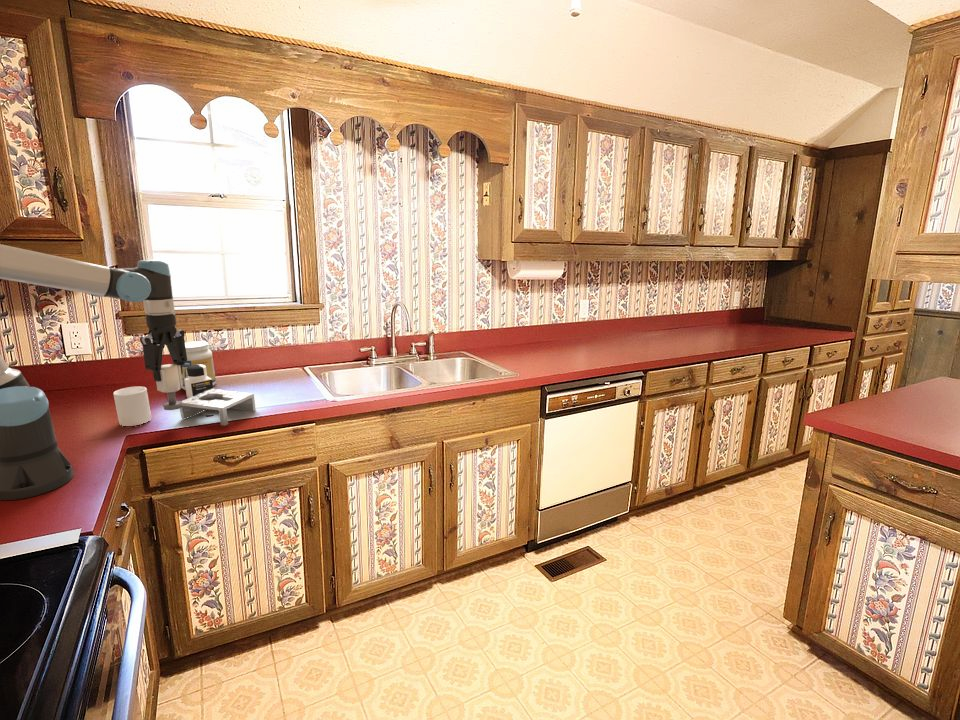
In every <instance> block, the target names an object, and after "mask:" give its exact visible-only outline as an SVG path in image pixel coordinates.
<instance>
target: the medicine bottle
mask: <svg viewBox="0 0 960 720" xmlns="http://www.w3.org/2000/svg"><path fill="white" fill-rule="evenodd" d="M187 374H188V378H185V379H184V382H185V388H186V390H185V393H186V397H187V399H188V398H190V397H193V396H195V395H198V394H200V393H203V392H206V391H208V390H211V389H214V386H213V382H212V379H211V378H209V377H208V376H207V371H206V366H205V365H202V364H196V365H191V366H189V367H188V368H187Z"/></svg>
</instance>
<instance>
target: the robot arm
mask: <svg viewBox="0 0 960 720" xmlns="http://www.w3.org/2000/svg"><path fill="white" fill-rule="evenodd" d="M0 280H5V281H10V282H11V281H12V282H19V283H23V284H31V285H35V286H42V287H49V288H53V289H60V290H65V291H71V292H77V293H82V294H90V295H92V296H93V297H98V298H102V297H103V298H111V299H116V300H121V301H122V300H123V301H125V302H128V303H139V302H143V303H142V304H143V309H144V313H145V315H144V316H145V317H144V318H145V325H146V327H147V328H148V333H147V335H145V336H144V337H142V336H141V337H140V338H139V341H140V343H141V345H142V351H143V361H144V369H145V370H146V371H152V375H153V381H155V382H156V384H155V385H156V390H157V391H158V392H161V391H163V392H162V393H164V392H165V391H167V389H166V382H165V375H164V370H161V365H163V353H164V348H165V346H166V347H167V351H168V353H169V356H170V359H171V361H172V364H176V365H177V366H178V374H179V381H180V387H181V386H183V382H182V375H181V374H183V371H182V365H184V364H185V362H184V361H187V354H186V347H185V343H186V341H185V335H186V332H185V330H184V329H177V328H176V326H177V318H176V313H174V312H175V303H174V302H175V301H174V297H173V289H172V276H171V272H170V267H169V264H168V262H167V261H166V260H163V259H142V260H141V259H139V260H138V261H137V266H135V267H123V268H122V267H118V268H117V267H115V268H114V267H110V266H105V265H101V264H95V263H91V262H87V261H86V262H85V261H82V260H77V259H73V258H68V257H62V256H59V255H53V254H50V253H49V254H48V253H45V252H38V251H35V250H30V249H25V248H20V247H15V246H11V245H7V244H1V243H0ZM49 405H50V403H49V400H48V398H47V396H46V394H45V392H44V391H43V390H42V389H40V388H39V387H35V386H30V384H29V382H28V381H27V380H26V378H25V376H24V375H23V373H22V372H21V370H19V369H16V368H11V367H9V365H8V364H7V362H6V360H5V359H4V357H3V356H2V354H1V353H0V501H13V500H23V499H27V498H32V497H37V496H40V495H43V494H46V493H48V492H51V491H53V490H56V489H58V488H60V487H62V486H64V485H66V484H67V483H68V482H70V481H71V480H72V479H73V477H74V476H75V473H74V469H73V466H72V464H71V462H70V461H69V460H68V458H67V457H66V456H65V455H64V454H63V452H62V451H61V449H60V448H59V446H58V445H59V444H58V441H57V437H56V434H55V432H56V431H55V429H54V424H53V421H52V416H51V412H50V408H49Z"/></svg>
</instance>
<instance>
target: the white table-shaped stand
mask: <svg viewBox="0 0 960 720" xmlns="http://www.w3.org/2000/svg"><path fill="white" fill-rule="evenodd" d="M181 402H182V407H181V408H179V412H180V413H179V414H180V419H181V418H182V419H184V418H187V417H189V418H191V417H190V416H192V417H194V416H196V415H198V414H197V413H199V412H201V411H203V410H205V411H207V410H206V409H208V410H213V411H218V414H219V421H220V423H219V424H220V426H224V427H225V426H227V425H229V418H228V414H227V413H228V412H227V409H228V410H229V409H235V410H241V411H249V412H254V411H256V400H255V394H254V393H251V392H243V391H234V390H226V389H217V388H213V389H211V390H208V391H206V392H203V393H200V394H198V395H195V396H193V397H190V398H188V397H187V398H185V399H183V400H181ZM203 412H204V411H203ZM201 413H202V412H201ZM195 414H196V415H195ZM199 414H200V413H199ZM193 415H194V416H193ZM182 419H181V420H182ZM187 419H188V418H187Z"/></svg>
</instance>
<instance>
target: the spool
mask: <svg viewBox="0 0 960 720" xmlns="http://www.w3.org/2000/svg"><path fill="white" fill-rule="evenodd" d="M161 370H164V375H165V382H166V389H167V391H165V392H163V391H160V392H161V393H167V402H165V403H163V404H162V407H163V410H165V411H176V410H180V408H181V407H182V402H181V401H182V400H181V401H180V400H177V397H176V392H178V391H180V390H181V386H180V381H179V374H178V366H177V365H176V364H174V363H172V364H171V363H168V364H162V365H161Z"/></svg>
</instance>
